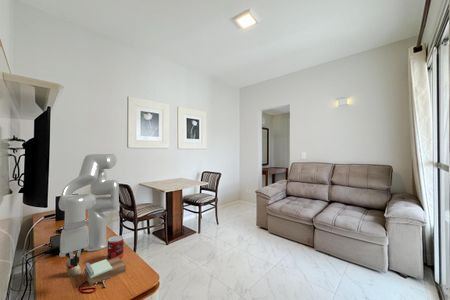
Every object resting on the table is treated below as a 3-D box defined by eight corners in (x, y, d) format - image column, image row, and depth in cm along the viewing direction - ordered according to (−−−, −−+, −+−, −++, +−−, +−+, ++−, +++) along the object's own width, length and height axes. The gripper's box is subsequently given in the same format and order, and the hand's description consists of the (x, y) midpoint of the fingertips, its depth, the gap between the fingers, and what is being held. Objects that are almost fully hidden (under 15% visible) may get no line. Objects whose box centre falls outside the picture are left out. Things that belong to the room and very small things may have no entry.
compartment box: (84, 274, 92) (84, 268, 92) (118, 261, 103) (118, 256, 103) (89, 286, 84) (89, 279, 84) (125, 271, 95) (125, 265, 95)
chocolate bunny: (78, 268, 98) (78, 248, 98) (82, 274, 93) (82, 254, 93) (65, 273, 93) (65, 253, 94) (68, 280, 88) (68, 258, 89)
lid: (85, 268, 92) (85, 263, 92) (106, 260, 98) (106, 256, 98) (90, 278, 84) (90, 273, 84) (112, 269, 91) (112, 264, 91)
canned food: (109, 255, 110) (109, 236, 110) (124, 252, 112) (124, 234, 113) (105, 262, 102) (106, 242, 103) (122, 259, 105) (122, 239, 105)
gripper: (93, 218, 93) (92, 256, 92) (52, 227, 82) (51, 269, 81) (96, 222, 88) (96, 261, 87) (53, 231, 77) (52, 277, 76)
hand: (74, 265), depth 84 cm, fingers closed
